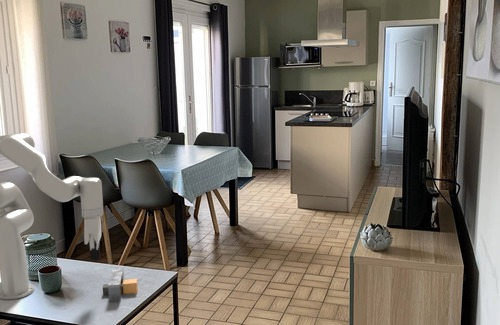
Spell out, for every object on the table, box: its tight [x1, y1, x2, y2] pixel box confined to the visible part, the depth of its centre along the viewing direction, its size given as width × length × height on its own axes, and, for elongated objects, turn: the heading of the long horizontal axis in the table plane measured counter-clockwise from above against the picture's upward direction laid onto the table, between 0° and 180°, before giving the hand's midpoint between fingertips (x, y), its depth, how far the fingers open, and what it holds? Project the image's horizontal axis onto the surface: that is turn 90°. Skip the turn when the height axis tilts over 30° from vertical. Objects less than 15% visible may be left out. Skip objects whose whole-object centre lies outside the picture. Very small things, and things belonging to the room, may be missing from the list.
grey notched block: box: [107, 267, 125, 303], centre depth 189 cm, size 4×16×6 cm, turn 9°
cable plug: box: [102, 278, 139, 296], centre depth 190 cm, size 12×4×4 cm, turn 99°
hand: (95, 259), depth 186 cm, fingers closed
